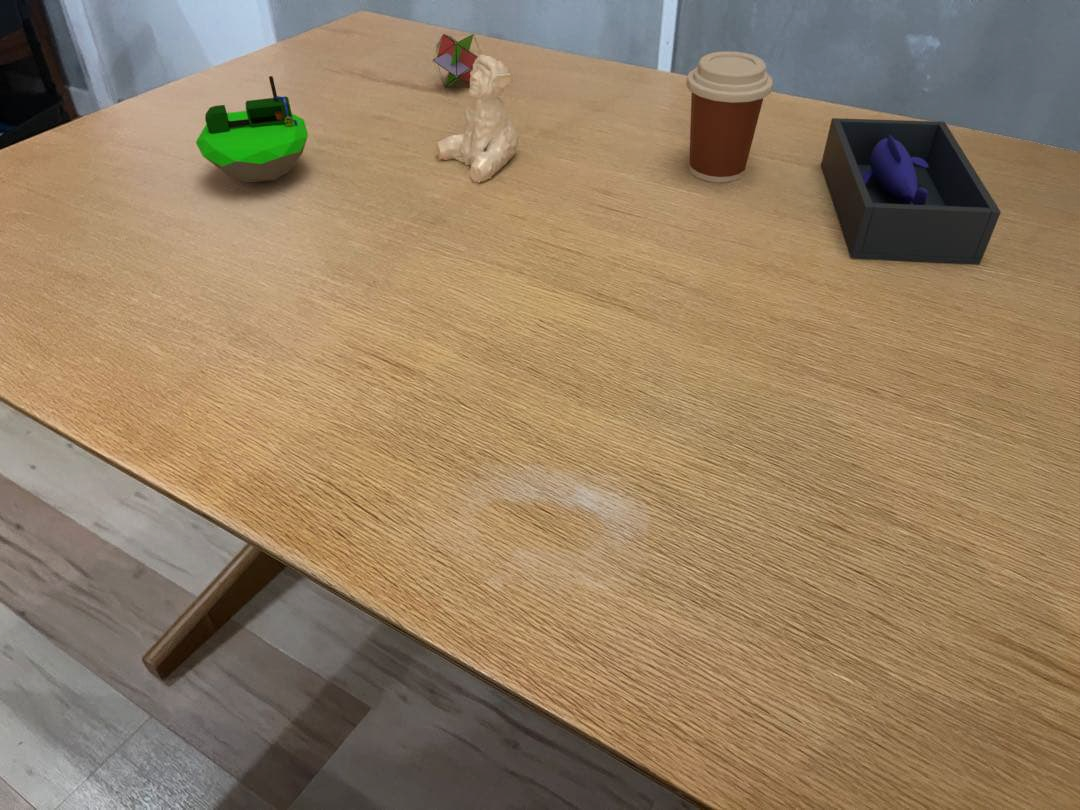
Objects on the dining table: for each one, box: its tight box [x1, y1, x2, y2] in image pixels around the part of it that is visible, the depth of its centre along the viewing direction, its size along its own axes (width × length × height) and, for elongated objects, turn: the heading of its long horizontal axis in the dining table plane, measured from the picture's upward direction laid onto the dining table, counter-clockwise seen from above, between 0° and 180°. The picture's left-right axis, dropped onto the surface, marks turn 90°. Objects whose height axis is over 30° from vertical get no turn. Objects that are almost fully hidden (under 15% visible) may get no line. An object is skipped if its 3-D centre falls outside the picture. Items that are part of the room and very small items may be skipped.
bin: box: [820, 117, 1002, 265], centre depth 85 cm, size 12×20×6 cm, turn 174°
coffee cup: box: [685, 50, 774, 183], centre depth 90 cm, size 9×9×12 cm
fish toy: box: [861, 135, 929, 205], centre depth 84 cm, size 15×8×7 cm, turn 0°
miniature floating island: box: [195, 75, 309, 183], centre depth 91 cm, size 12×12×11 cm
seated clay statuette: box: [435, 53, 520, 184], centre depth 93 cm, size 10×9×12 cm
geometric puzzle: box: [431, 33, 483, 89], centre depth 112 cm, size 7×7×8 cm
